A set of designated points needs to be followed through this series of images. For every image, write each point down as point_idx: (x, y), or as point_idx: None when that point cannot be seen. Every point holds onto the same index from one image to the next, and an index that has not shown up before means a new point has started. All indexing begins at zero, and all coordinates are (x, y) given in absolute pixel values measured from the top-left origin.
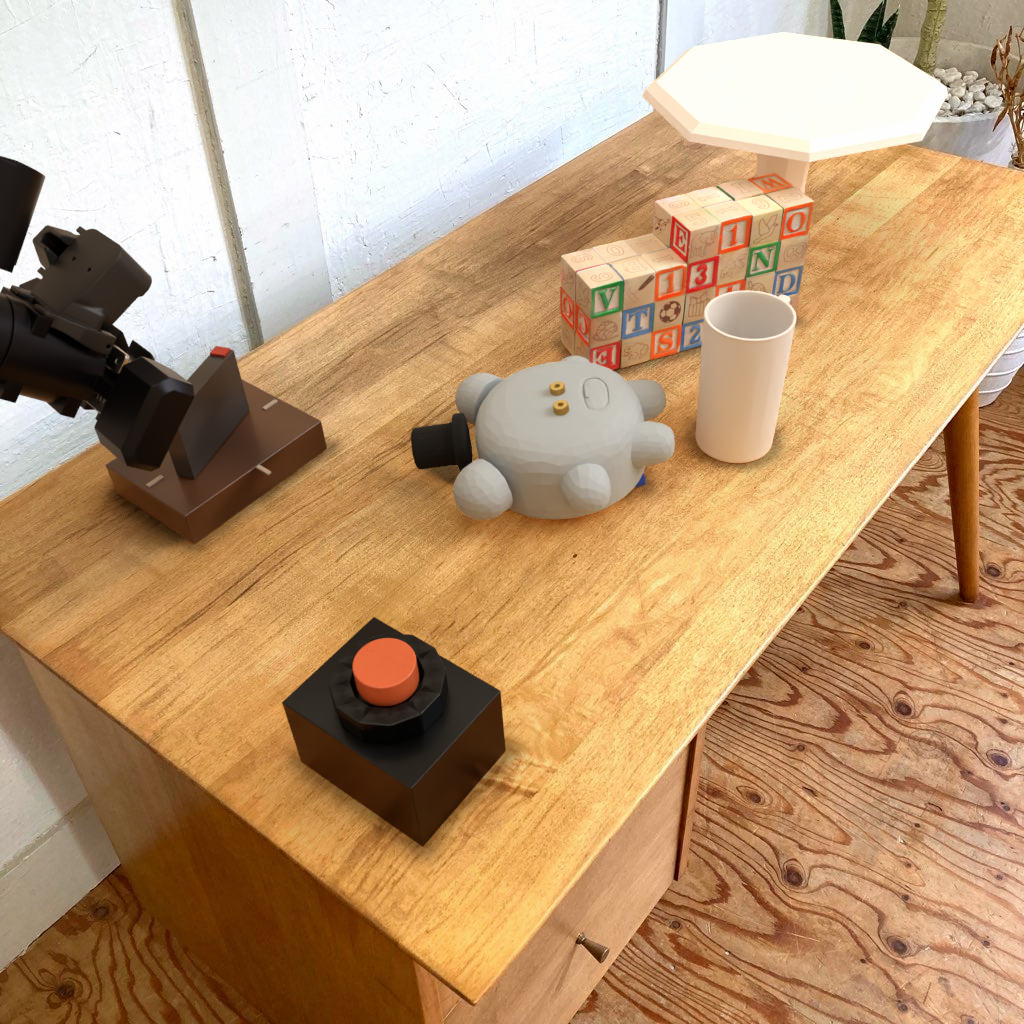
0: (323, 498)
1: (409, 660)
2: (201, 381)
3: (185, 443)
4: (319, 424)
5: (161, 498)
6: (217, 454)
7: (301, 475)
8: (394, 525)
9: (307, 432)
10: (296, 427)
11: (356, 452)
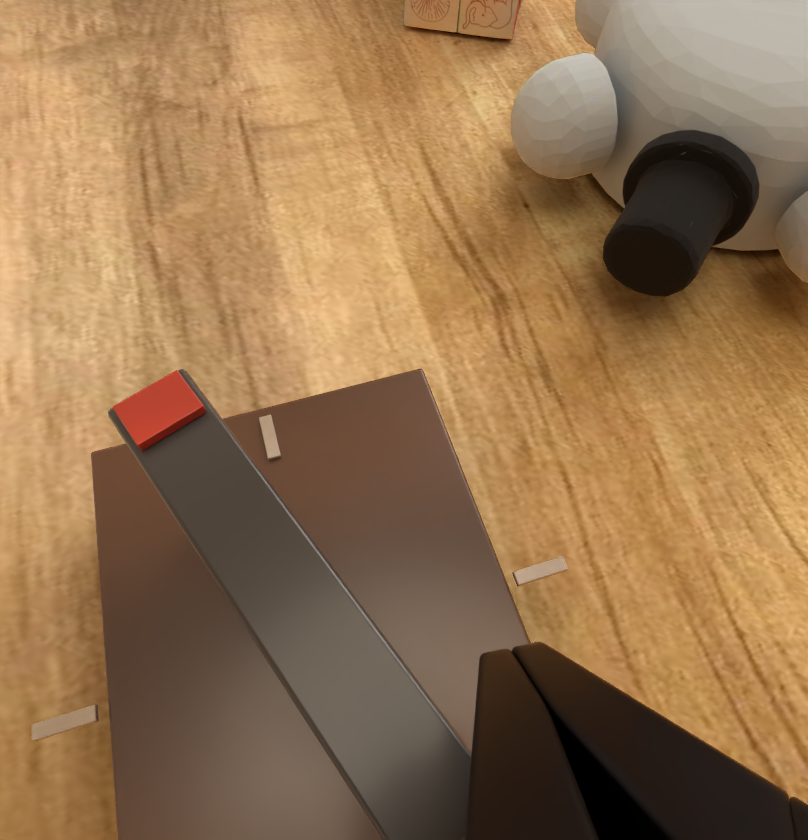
0: (580, 495)
1: None
2: (295, 556)
3: None
4: (425, 377)
5: None
6: None
7: None
8: (738, 416)
9: (438, 412)
10: (409, 424)
11: (468, 374)
